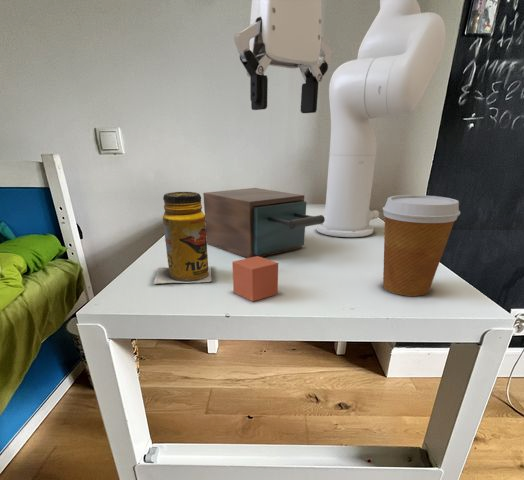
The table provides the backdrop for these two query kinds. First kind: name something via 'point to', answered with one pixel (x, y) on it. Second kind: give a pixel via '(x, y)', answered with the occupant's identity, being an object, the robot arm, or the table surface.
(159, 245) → the table surface
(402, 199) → the disposable coffee cup
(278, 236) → the drawer
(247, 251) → the cabinet
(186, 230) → the condiment
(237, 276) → the block
